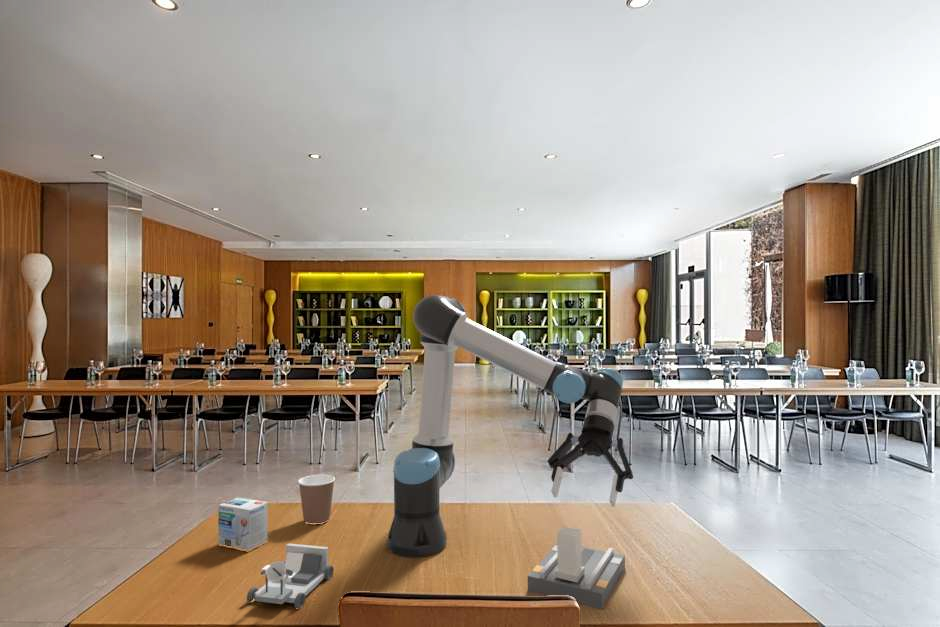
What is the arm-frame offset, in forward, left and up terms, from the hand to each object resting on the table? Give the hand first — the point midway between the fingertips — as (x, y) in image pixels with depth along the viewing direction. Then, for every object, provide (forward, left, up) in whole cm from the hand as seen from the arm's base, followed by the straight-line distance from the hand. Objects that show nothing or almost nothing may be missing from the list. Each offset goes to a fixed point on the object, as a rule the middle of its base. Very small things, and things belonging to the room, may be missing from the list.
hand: (582, 499), depth 123 cm
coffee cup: (-77, -6, -17) cm, 79 cm away
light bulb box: (-82, -27, -17) cm, 88 cm away
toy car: (-52, -38, -17) cm, 67 cm away
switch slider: (0, -10, -13) cm, 16 cm away
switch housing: (0, -4, -17) cm, 17 cm away
